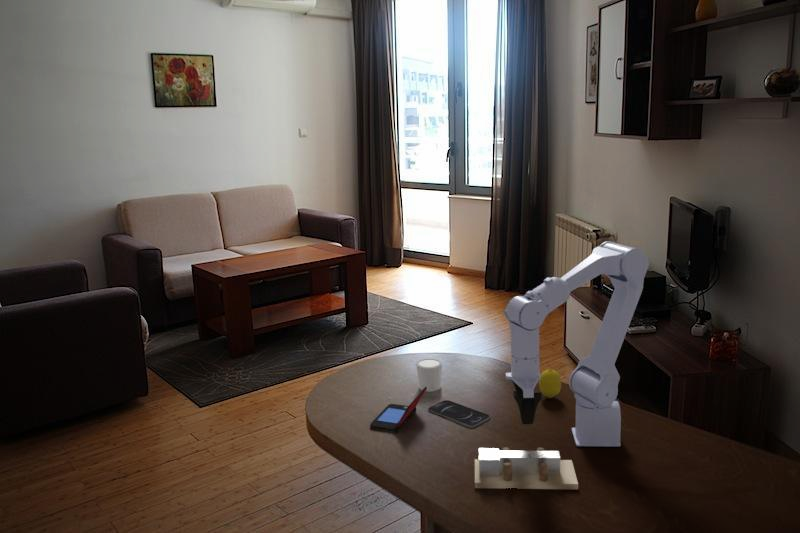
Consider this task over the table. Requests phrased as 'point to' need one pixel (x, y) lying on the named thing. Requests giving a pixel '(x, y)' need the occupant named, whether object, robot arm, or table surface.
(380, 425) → the handheld game console
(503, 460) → the bar
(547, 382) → the lemon
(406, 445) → the table surface
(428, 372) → the white cylinder
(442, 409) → the smartphone
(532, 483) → the peg cradle
